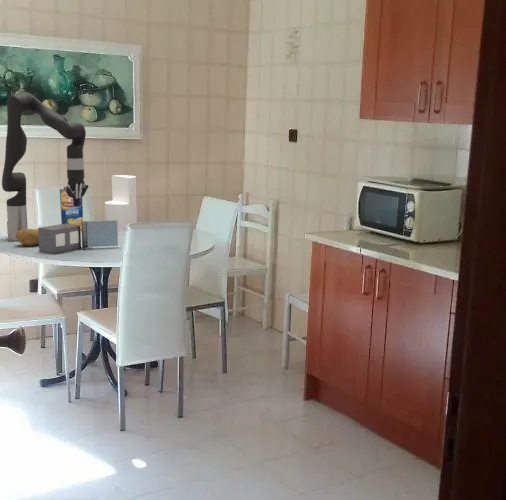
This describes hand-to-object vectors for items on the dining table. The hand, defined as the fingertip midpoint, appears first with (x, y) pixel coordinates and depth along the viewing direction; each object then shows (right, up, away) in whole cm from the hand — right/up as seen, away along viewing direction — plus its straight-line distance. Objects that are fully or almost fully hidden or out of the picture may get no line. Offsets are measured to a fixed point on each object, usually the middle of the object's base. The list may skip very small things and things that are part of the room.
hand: (76, 206), depth 314 cm
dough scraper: (+8, -18, +12) cm, 23 cm away
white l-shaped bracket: (+7, -7, +70) cm, 71 cm away
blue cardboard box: (-17, -9, +58) cm, 62 cm away
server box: (-7, -20, +7) cm, 22 cm away
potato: (-26, -18, +17) cm, 35 cm away
